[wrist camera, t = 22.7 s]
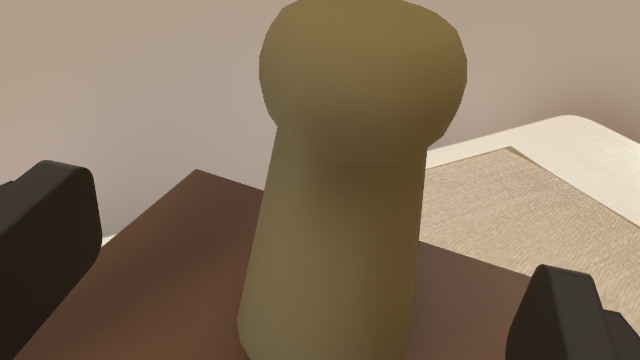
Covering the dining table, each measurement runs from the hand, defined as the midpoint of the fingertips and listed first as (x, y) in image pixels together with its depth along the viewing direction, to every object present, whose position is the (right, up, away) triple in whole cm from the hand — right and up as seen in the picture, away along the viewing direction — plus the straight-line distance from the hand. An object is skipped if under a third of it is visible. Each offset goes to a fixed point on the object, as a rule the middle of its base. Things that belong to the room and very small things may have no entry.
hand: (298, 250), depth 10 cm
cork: (+1, -4, +9) cm, 10 cm away
